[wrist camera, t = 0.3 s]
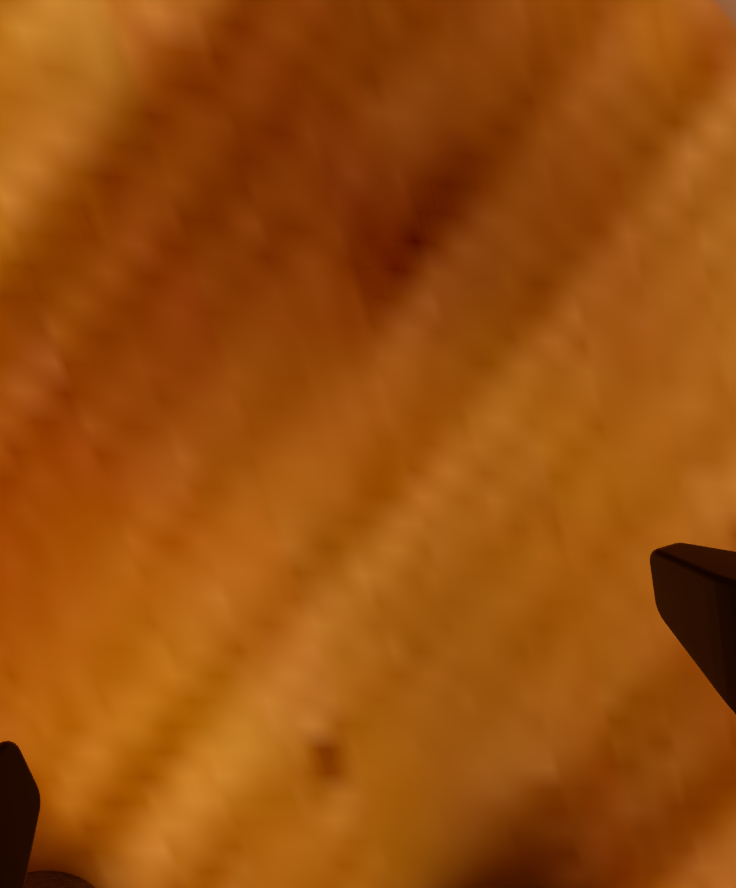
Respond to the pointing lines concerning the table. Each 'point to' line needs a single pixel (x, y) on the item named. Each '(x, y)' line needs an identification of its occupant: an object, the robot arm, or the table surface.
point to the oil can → (54, 880)
